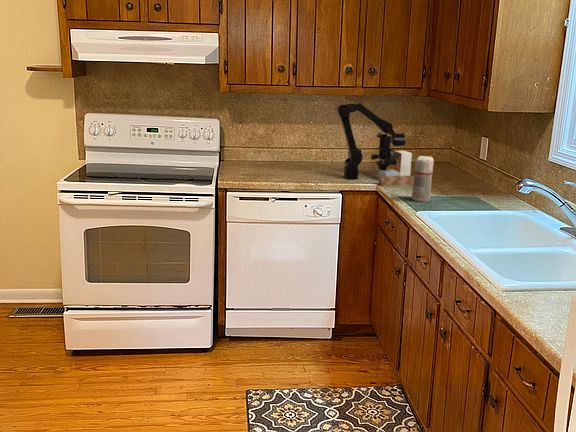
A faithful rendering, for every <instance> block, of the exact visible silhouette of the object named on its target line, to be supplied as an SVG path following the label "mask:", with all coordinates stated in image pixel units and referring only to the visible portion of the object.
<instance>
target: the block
mask: <svg viewBox="0 0 576 432" xmlns="http://www.w3.org/2000/svg"><path fill="white" fill-rule="evenodd" d="M383 176H400V172H397V171H395V170H394V169H386V170H379V169H378V175H377V179H378V181H379V177H383Z"/></svg>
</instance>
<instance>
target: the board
mask: <svg viewBox="0 0 576 432" xmlns="http://www.w3.org/2000/svg"><path fill="white" fill-rule="evenodd" d="M413 182H414V175H411V174H410V175H409V176H383V177H379V180H378V185H379V186H382V187H383V186H404V185H405V186H406V185H408V186H409V185H413Z"/></svg>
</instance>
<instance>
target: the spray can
mask: <svg viewBox="0 0 576 432" xmlns="http://www.w3.org/2000/svg"><path fill="white" fill-rule="evenodd" d="M434 162H435V161H434V158H433V156H427V155H426V156H424V155H419V156H418V157H417V158H416V160H415V162H414V170H413V171H414V172H413V176H414V182H413V184H412V185H413V186H412V192H411V193H412V194H411V200H412V201H415V202H422V203H423V202H430V200H431V199H430V198H431V187H432V178H433V172H434V171H433V170H434V164H435V163H434Z"/></svg>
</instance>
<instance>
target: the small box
mask: <svg viewBox="0 0 576 432" xmlns="http://www.w3.org/2000/svg"><path fill="white" fill-rule="evenodd" d="M394 152H395V153H398V154H400V156H399V159H398V160H397V159H396V160H397V165H393V170H395V171H397V172H400V176H409V175H411V171H412V170H411V169H412V157H413V156H412V155H413V153H412V152H409V151H407V150H394Z"/></svg>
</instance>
